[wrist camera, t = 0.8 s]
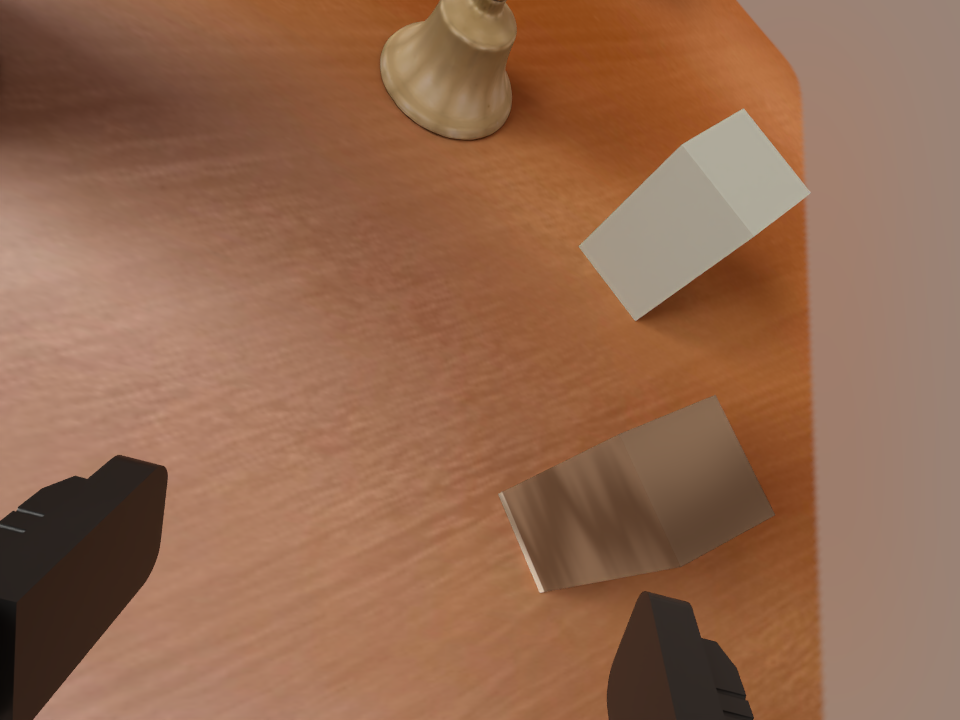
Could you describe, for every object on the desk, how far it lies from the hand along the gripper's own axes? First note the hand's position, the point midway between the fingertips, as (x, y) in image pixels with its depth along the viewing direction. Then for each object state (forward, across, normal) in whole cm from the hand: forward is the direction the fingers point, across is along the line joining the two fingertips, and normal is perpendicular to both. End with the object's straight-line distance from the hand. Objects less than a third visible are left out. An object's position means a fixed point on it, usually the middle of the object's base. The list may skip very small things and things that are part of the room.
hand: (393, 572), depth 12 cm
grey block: (+35, -8, 0) cm, 36 cm away
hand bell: (+37, +5, -7) cm, 38 cm away
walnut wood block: (+22, -7, +11) cm, 26 cm away
